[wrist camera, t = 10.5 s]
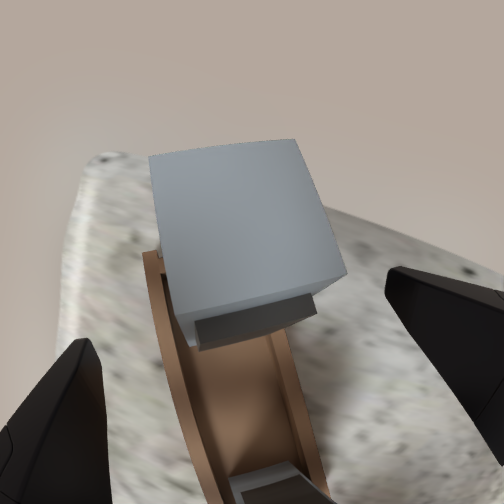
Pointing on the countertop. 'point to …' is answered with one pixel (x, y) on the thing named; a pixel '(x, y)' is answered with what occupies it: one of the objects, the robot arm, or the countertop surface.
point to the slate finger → (241, 239)
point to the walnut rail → (238, 411)
